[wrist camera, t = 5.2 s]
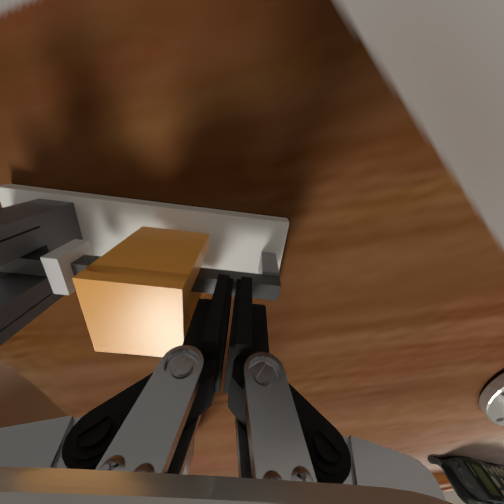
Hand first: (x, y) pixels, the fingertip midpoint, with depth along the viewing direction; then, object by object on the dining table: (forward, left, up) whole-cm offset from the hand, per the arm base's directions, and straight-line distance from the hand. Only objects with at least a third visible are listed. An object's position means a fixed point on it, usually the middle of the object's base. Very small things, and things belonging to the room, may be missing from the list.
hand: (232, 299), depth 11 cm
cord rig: (+6, 0, -6) cm, 8 cm away
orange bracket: (+4, 0, -4) cm, 5 cm away
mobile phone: (-38, +31, -6) cm, 49 cm away
